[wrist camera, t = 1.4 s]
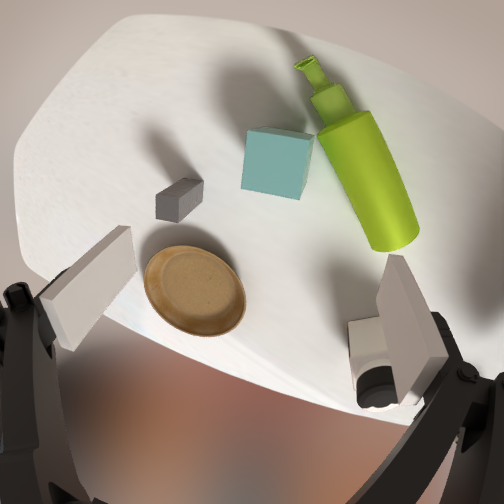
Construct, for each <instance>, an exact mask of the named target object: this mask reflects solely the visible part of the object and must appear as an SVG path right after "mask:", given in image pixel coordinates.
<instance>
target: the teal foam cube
mask: <svg viewBox="0 0 504 504" xmlns="http://www.w3.org/2000/svg"><path fill="white" fill-rule="evenodd" d="M314 136H315V135H312V134H307V133H301V132H296V131H290V130H284V129H278V128H271V127H261V128H256V129H252V130H248V131H247V138H246V147H245V155H244V164H243V173H242V182H241V189H245V190H251V191H256V192H261V193H266V194H271V195H276V196H281V197H286V198H291V199H296V200H300V197H301V195H302V192H303V190H304V188H305V185H306V183H307V177H308V171H309V166H310V160H311V154H312V148H313V142H314Z"/></svg>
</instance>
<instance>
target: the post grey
mask: <svg viewBox="0 0 504 504" xmlns="http://www.w3.org/2000/svg"><path fill="white" fill-rule="evenodd" d="M203 184H204V181H201V180H194V179H187V178H183V179H181V180H179V181H178V182H176V183H174V184H173V185H171V186H169V187H168V188H166V189H164V190H163V191H161V192H160V193H158V194H156V219H159V220H165V221H170V222H175V223H179V222H180V221H181V220H182V219H183V218H185V217H186V216H187V215H188V214H189V213H190V212H191V211H192V210H193V209H195V208H196V207H197V206H198V205H199V204H200V203H201V202H202V199H203Z"/></svg>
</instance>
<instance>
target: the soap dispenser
mask: <svg viewBox="0 0 504 504" xmlns="http://www.w3.org/2000/svg"><path fill="white" fill-rule="evenodd" d="M319 65H320V64H319V62H318V60H317V59H316V58H315V57H314V56H313V55H311V56H309V57H307V58H305V59H303V60H301V61H299V62H297V63H295V64H294V67H295V69H296V70H298V69H299V70H300V71H302V72H303V73H304V74H305V76H306V77H307V79H308V80H309V82H310V84H311V85H312V87H313V89H314V90H315V92H313V93H312V94H313V96H312V97H310V100H311V102H312V103H313V105H314V107H315V109H316V110H317V112H318V114H319V115H320V117H321V119H322V121H323V122H324V124H325V126H326V127H325V128H324V129H323V130H321V131H320V132H319V133H318V134H317V138H318V140H319V141H320V143H321V145H322V147H323V149H324V150H325V152H326V154H327V156H328V158H329V160H330V162H331V164H332V166H333V167H334V169H335V171H336V173H337V175H338V177H339V179H340V181H341V183H342V185H343V187H344V189H345V191H346V193H347V195H348V197H349V200H350V202H351V204H352V206H353V208H354V210H355V212H356V214H357V217H358V219H359V221H360V223H361V225H362V228H363V230H364V232H365V234H366V237H367V239H368V241H369V244H370V246H371V248H372V249H373V250H375V251H377V252H390V251H394V250H397V249H400V248H402V247H404V246H406V245H408V244H409V243H411V242H412V241H413V240H414V239H415V238H416V237H417V235H418V234H419V231H420V228H419V225H418V222H417V219H416V216H415V213H414V210H413V207H412V205H411V202H410V199H409V197H408V194H407V191H406V189H405V186H404V184H403V181H402V179H401V176H400V174H399V172H398V169H397V167H396V165H395V162H394V160H393V158H392V155H391V153H390V151H389V149H388V147H387V145H386V142H385V140H384V138H383V136H382V134H381V132H380V130H379V128H378V126H377V124H376V122H375V120H374V118H373V116H372V114H371V112H370V111H361V112H356V110H355V109H354V107H353V105H352V103H351V101H350V100H349V98H348V96H347V94H346V93H345V91H344V89H343V87H342V86H341V84H336V85H335V83H331V84H330V82H329V80H328V79H327V77H326V76H325V74H324V72H323V71H322V69H321V68H320V66H319Z"/></svg>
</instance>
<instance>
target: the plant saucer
mask: <svg viewBox="0 0 504 504" xmlns="http://www.w3.org/2000/svg"><path fill="white" fill-rule="evenodd" d="M144 288H145V292H146V295H147V298H148V300H149V302H150V303H151V305H152V307H153V308H154V310H155V311H156V312H157V313H158V314H159V315H160V316H161V318H163V319H164V320H165V321H166V322H167V323H169V324H170V325H172V326H173V327H175V328H176V329H178V330H180V331H183V332H185V333H188V334H191V335H194V336H200V337H215V336H220V335H224V334H226V333H228V332H230V331H231V330H233V329H234V328H236V326H237V325H238V324H239V323H240V322H241V320H242V318H243V316H244V314H245V310H246V295H245V291H244V288H243V285H242V283H241V281H240V279H239V278H238V276H237V275H236V274H235V272H234V271H233V270H232V269H231V268H230V267H229V266H228V265H227V264H226V263H225V262H224V261H223V260H222V259H220V258H219V257H217V256H216V255H214V254H213V253H211V252H208V251H206V250H204V249H201V248H198V247H194V246H187V245H177V246H171V247H167V248H164V249H162V250H161V251H159V252H157V253H156V254H155V255H154V256H153V257H152V258H151V259H150V260H149V262H148V264H147V266H146V268H145V272H144Z"/></svg>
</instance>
